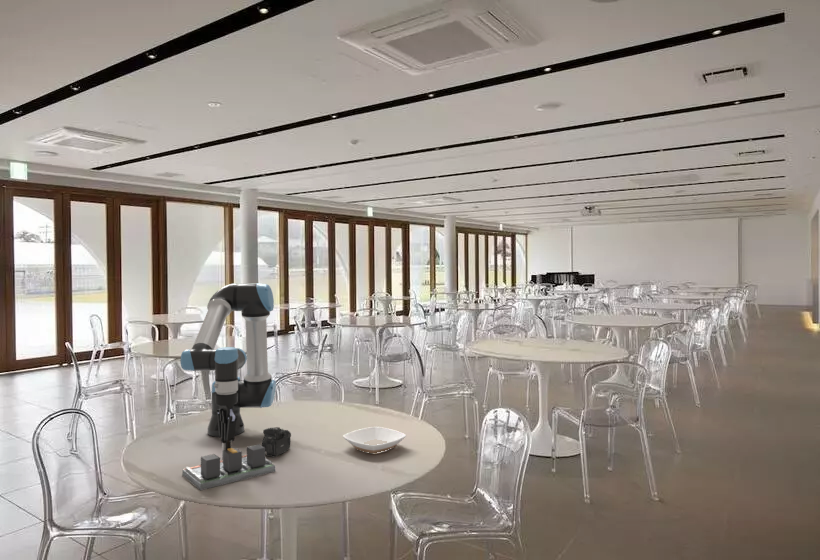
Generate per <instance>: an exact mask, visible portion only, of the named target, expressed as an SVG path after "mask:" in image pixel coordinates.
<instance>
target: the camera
mask: <svg viewBox="0 0 820 560" xmlns="http://www.w3.org/2000/svg"><path fill="white" fill-rule="evenodd" d="M262 434H263V435H264V436H263V438H262V440H261V446H263V447H265V456H267V457H275V458H276V457H278V456H279V455H282V454H283V453H285V452H287V451H288V450H289V449H290V448H291V437H292V433H291V431H289V430H288V429H284V428H281V427H279V426H276V427H268V428H265V429H263V433H262Z"/></svg>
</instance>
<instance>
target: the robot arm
mask: <svg viewBox="0 0 820 560" xmlns="http://www.w3.org/2000/svg"><path fill="white" fill-rule="evenodd" d="M274 301H275V300H274V294H273V290H272V288H271V286H270V285H269V284H267V283H259V282H258V283H257V282H256V283H253V282H252V283H247V282H246V283H230V284H227V285H224V286H223V287H221V288H219V289H218V290H217V291H216V292H215V293H214V294H212V296H211V297H210V299H209V301H208V303H207V305H206V307H207V308H206V309H207V311H206V313H205V316H204V319H203V321H202V324H201V326H200V329H199V331H198V334H197V335H196V338H195V341H194V343H193V345H192V347H191V349H189V348H188V349H184V350H183V351H182V352H181V355H180V366H181V369H182V370H183V371H191V372H192V371H193V372H195V371H196V372H197V371H198V372H199V371H200V372H202V371H204V372H205V371H212V372H213V371H214V381H213V382H212V384H211V417H210V419H209V423H208V426H207V435H208V436H210V437H211V436H212V437H215V438H216V437H218V438H219V439H220V441H221V460H222V461H223V451H224V450H227V449H229V448H232V442H234V441H235V435H240V434H242V433H243V432H245V424H244V421H243V417H242V414H241V408H243V409H244V408H245V409H250V408H252V409H253V408H258V409H263V408H269V407H271V406H272V405H273V403H274V399H275V394H276V390H277V389H276V388H277V382H276V380H274V379H272V374H271V373H269V370H268V367H269V366H268V333H267V332H268V331H267V318H268V317H270V315H271V312H272V311H273V310H274V307H275V306H274V305H275V302H274ZM232 312H241V317H242V318H243V319H244V320H245V345H246V346H245V347H246V352H245V351H244V350H243V349H241V348H239V347H236V346H235V347H234V346H221V347H218V348H216V349H215V347H216V346H217V345H216V344H217V342H218V340H219V337H220V335H221V332H222V330H223V326H224V324H225V322H226V318H227V317H228V316H230V314H231V313H232ZM245 364H246V370H247V371H246V374H245V375H244V377H243V380H241V377H240V376H239V370H240V369H242V368H243V367H244V366H245Z"/></svg>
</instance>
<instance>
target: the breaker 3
mask: <svg viewBox="0 0 820 560" xmlns="http://www.w3.org/2000/svg"><path fill="white" fill-rule="evenodd" d="M246 455H247V464H248V465H249V466H251V467H253V468H254V467H258V466H263V465H265V458H266V451H265V447H263V446H262V444H259V443H258V444H255V445H249V446H248V445H247V446H246Z"/></svg>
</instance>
